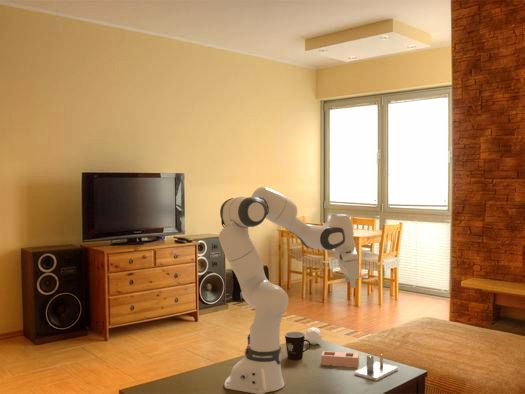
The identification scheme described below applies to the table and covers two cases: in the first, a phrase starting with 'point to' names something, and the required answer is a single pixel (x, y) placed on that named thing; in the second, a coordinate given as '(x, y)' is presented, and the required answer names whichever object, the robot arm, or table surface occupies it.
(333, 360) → the link
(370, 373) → the post plate
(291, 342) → the coffee mug
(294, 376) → the table surface
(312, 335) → the geometric ball
